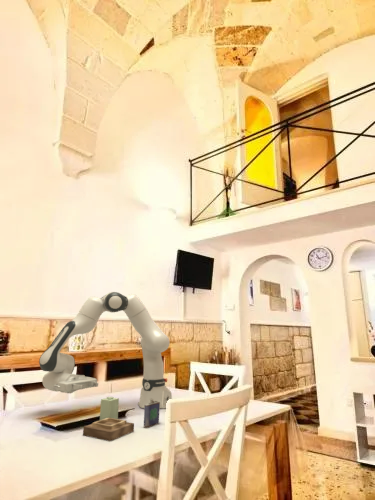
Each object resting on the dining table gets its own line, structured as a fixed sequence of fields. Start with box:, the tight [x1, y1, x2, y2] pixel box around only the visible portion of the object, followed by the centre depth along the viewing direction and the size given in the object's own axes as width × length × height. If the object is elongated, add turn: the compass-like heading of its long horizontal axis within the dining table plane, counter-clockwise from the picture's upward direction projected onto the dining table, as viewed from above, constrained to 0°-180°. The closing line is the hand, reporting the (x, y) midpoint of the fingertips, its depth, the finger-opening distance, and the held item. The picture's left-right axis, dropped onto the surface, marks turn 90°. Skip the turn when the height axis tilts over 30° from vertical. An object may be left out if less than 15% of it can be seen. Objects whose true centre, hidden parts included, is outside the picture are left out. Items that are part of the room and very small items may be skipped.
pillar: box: [99, 396, 120, 421], centre depth 146 cm, size 6×6×11 cm
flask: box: [143, 398, 160, 429], centre depth 143 cm, size 9×3×11 cm, turn 146°
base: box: [82, 418, 135, 442], centre depth 131 cm, size 14×14×4 cm
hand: (90, 386), depth 153 cm, fingers open, 8 cm apart
